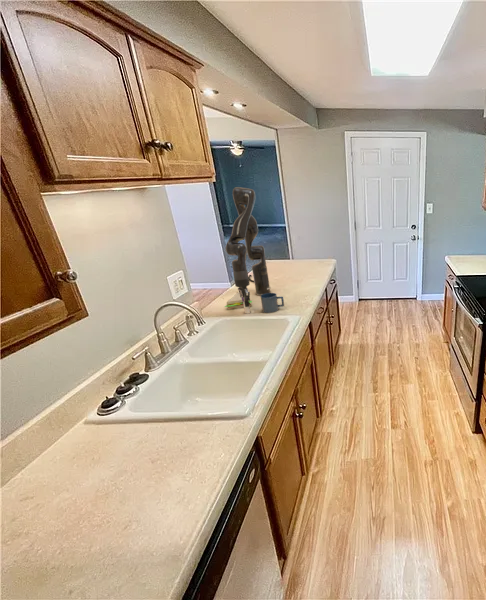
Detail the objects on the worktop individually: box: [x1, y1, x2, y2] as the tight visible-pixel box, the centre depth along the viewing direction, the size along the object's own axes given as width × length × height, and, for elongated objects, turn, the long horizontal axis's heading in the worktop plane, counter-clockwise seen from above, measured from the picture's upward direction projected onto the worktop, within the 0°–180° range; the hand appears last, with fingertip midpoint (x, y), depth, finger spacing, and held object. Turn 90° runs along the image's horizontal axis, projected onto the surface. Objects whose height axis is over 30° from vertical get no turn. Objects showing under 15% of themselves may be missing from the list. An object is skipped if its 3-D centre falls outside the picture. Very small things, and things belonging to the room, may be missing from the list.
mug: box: [259, 292, 285, 314], centre depth 198 cm, size 13×9×10 cm
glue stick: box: [242, 298, 251, 315], centre depth 194 cm, size 3×3×9 cm
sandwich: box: [224, 291, 253, 310], centre depth 208 cm, size 15×20×5 cm
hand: (246, 305), depth 194 cm, fingers closed on glue stick, 3 cm apart
